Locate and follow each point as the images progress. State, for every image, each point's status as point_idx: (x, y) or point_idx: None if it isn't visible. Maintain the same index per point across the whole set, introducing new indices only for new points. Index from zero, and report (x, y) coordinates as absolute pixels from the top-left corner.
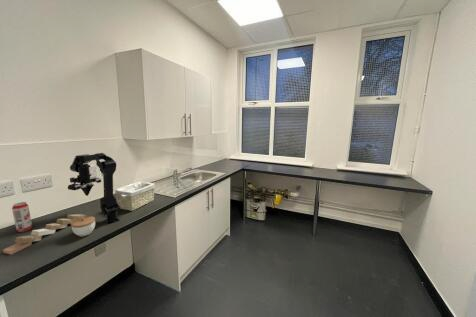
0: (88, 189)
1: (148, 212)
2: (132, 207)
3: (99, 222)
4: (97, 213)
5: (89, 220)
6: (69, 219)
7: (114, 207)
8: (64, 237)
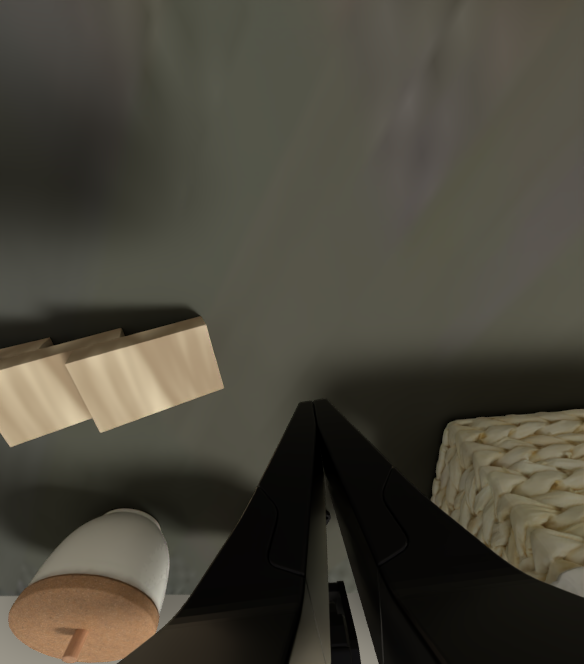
0: (368, 612)
1: None
2: None
3: (237, 490)
4: (317, 367)
5: (111, 650)
6: (78, 405)
7: (338, 591)
8: (41, 490)
